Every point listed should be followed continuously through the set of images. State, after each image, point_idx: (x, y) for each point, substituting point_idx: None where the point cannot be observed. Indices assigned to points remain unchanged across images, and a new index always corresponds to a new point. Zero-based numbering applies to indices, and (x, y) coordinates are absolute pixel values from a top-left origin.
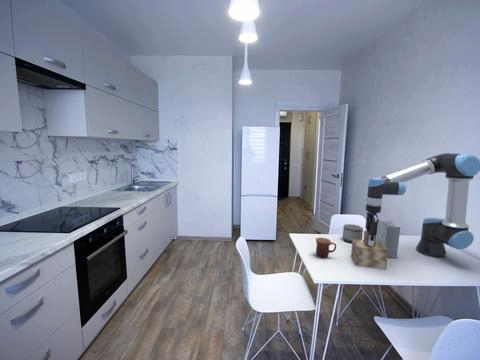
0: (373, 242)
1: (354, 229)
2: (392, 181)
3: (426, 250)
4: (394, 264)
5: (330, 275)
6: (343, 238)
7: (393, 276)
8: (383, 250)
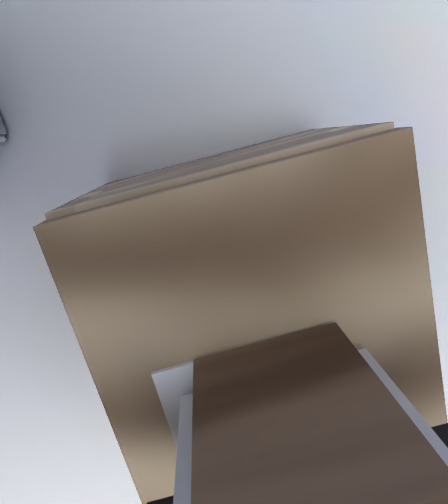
0: (393, 389)
1: None
2: None
3: None
4: (147, 40)
5: None
6: None
7: (432, 80)
8: (414, 201)
